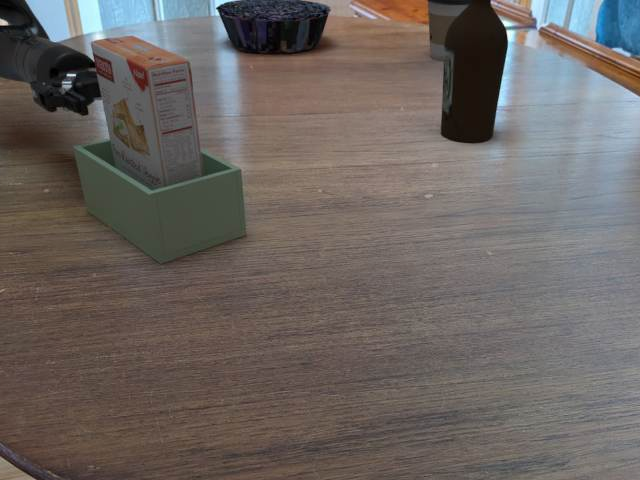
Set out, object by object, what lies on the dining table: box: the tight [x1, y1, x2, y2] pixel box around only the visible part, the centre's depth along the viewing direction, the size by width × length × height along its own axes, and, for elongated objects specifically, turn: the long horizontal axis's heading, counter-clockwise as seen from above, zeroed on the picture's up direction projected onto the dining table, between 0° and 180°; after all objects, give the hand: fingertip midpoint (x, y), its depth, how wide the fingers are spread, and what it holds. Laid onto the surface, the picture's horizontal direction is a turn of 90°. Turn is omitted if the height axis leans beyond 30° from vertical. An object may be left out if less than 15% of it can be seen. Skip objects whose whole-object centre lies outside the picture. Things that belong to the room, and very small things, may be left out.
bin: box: [72, 138, 248, 265], centre depth 94 cm, size 13×20×9 cm, turn 43°
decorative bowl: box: [215, 0, 332, 54], centre depth 176 cm, size 26×28×10 cm
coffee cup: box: [426, 0, 471, 62], centre depth 170 cm, size 11×11×15 cm
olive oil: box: [440, 0, 509, 143], centre depth 123 cm, size 11×11×25 cm
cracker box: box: [90, 35, 204, 190], centre depth 90 cm, size 14×6×21 cm, turn 42°
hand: (116, 101), depth 93 cm, fingers open, 8 cm apart
